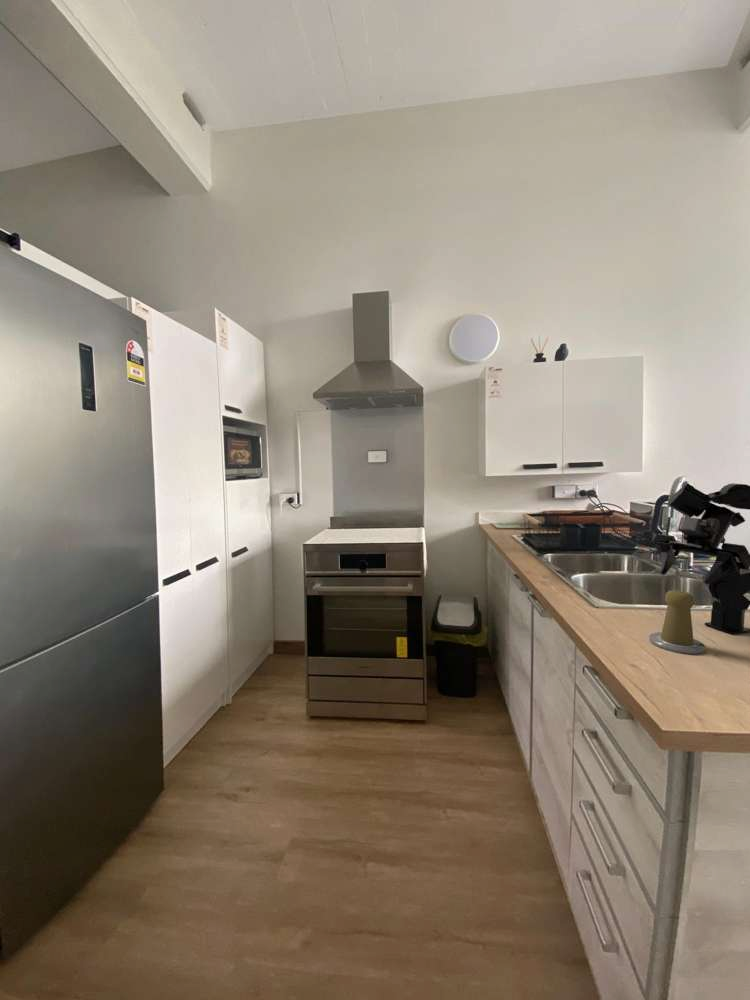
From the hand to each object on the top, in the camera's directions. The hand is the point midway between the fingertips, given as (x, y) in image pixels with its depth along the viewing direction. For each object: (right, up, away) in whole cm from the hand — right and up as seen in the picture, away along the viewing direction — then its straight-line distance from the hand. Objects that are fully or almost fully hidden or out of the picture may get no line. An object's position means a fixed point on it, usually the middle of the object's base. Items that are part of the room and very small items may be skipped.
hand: (682, 578), depth 98 cm
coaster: (-4, -14, -4) cm, 15 cm away
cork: (-4, -13, -4) cm, 15 cm away
